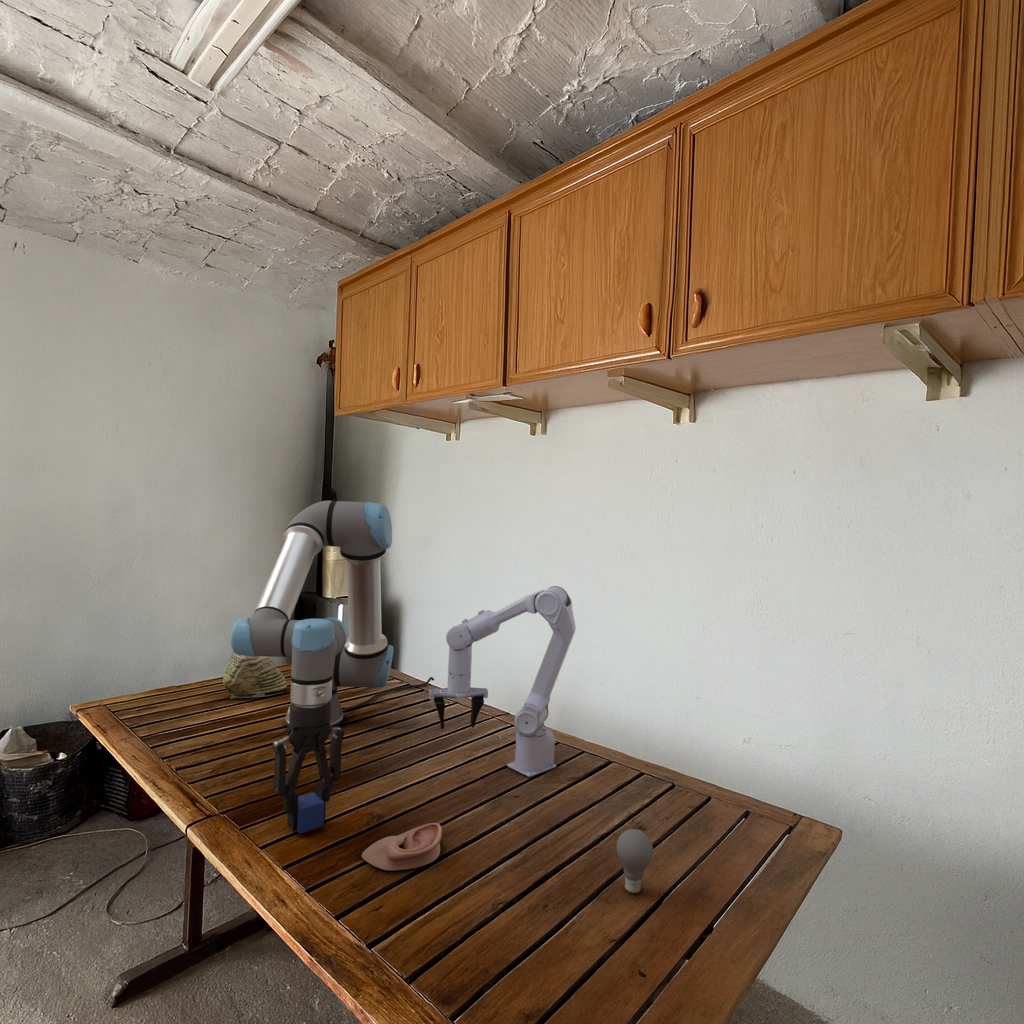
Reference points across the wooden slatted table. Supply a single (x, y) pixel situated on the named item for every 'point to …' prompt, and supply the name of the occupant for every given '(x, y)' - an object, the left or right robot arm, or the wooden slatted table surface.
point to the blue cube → (310, 812)
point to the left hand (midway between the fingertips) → (306, 823)
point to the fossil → (252, 677)
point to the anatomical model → (406, 849)
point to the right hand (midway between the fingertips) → (457, 726)
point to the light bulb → (634, 857)
